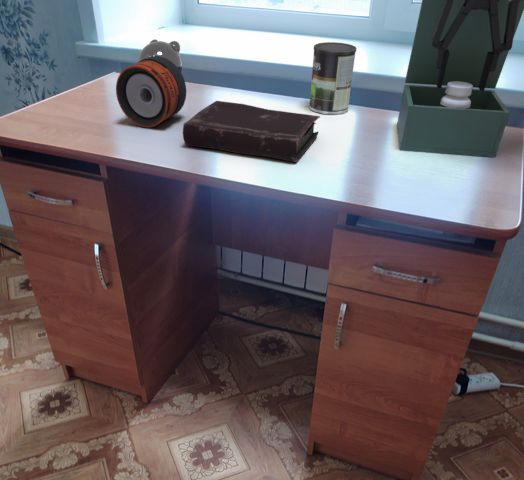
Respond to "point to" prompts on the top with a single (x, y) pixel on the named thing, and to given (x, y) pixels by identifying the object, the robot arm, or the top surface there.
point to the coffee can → (331, 77)
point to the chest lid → (457, 45)
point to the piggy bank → (163, 51)
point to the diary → (251, 130)
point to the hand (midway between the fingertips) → (459, 87)
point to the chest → (450, 122)
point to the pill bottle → (457, 95)
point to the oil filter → (151, 91)
